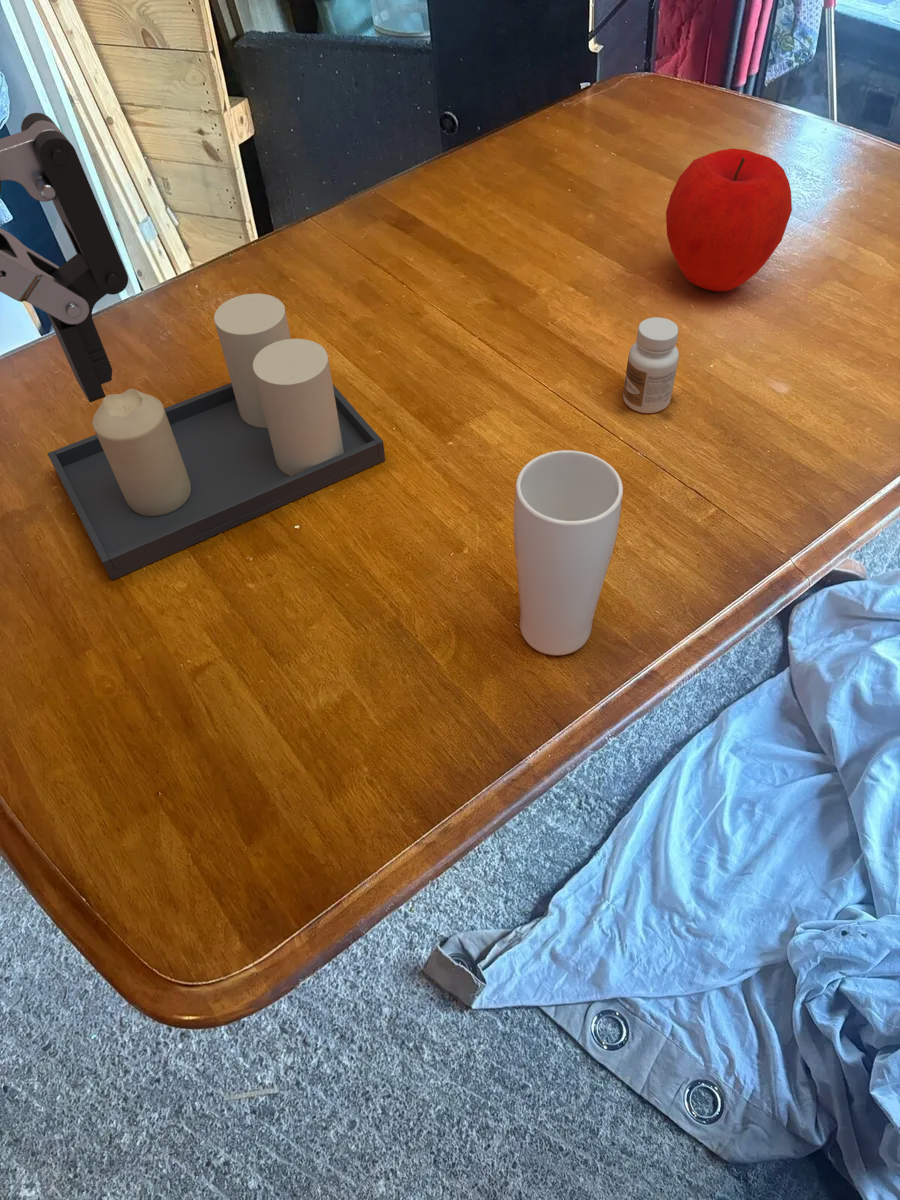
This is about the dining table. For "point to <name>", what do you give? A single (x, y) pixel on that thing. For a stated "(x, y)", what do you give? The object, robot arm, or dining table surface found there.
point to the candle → (142, 452)
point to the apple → (727, 217)
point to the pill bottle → (652, 366)
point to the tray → (202, 480)
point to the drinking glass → (563, 545)
